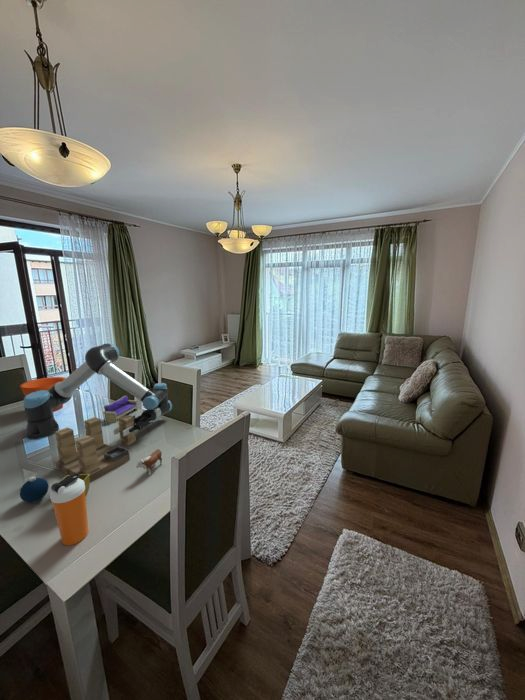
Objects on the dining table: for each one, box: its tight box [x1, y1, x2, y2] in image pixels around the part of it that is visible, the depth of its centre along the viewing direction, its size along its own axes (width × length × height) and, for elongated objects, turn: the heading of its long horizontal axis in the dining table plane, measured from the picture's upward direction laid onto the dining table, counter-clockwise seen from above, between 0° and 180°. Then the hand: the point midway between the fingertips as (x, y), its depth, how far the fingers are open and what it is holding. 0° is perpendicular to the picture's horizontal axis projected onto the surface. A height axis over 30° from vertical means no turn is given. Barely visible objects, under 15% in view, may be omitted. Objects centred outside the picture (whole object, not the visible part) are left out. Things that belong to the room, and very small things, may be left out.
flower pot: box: [60, 474, 91, 498], centre depth 103 cm, size 9×9×9 cm
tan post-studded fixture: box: [54, 416, 131, 484], centre depth 127 cm, size 24×20×17 cm
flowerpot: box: [19, 376, 67, 413], centre depth 191 cm, size 25×25×20 cm
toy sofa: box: [102, 395, 139, 423], centre depth 181 cm, size 21×9×10 cm, turn 166°
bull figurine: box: [135, 449, 163, 477], centre depth 122 cm, size 4×13×8 cm, turn 158°
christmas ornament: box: [19, 475, 49, 503], centre depth 105 cm, size 8×8×10 cm
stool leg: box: [117, 414, 137, 446], centre depth 146 cm, size 5×5×14 cm
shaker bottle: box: [49, 474, 89, 546], centre depth 87 cm, size 9×9×20 cm
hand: (118, 432), depth 140 cm, fingers closed on stool leg, 5 cm apart
